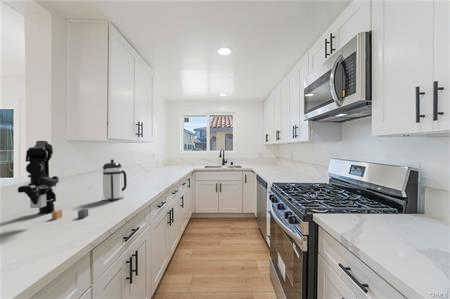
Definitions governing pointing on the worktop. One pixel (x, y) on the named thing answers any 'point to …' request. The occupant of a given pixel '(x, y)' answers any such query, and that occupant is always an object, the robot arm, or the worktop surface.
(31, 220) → the worktop surface
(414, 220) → the worktop surface
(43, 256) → the worktop surface
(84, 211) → the block
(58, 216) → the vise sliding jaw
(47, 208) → the robot arm
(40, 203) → the steel block
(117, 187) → the coffee press
